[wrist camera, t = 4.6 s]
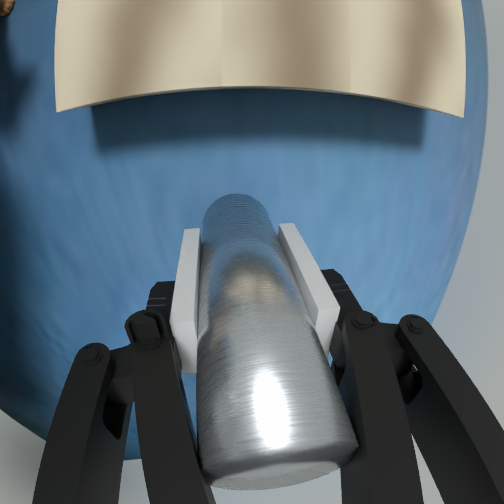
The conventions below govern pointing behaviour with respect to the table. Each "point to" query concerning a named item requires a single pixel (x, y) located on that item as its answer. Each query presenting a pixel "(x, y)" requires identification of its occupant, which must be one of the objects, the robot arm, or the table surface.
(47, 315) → the table surface
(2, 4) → the lion figurine
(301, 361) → the metal peg
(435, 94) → the maple block
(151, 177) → the table surface
